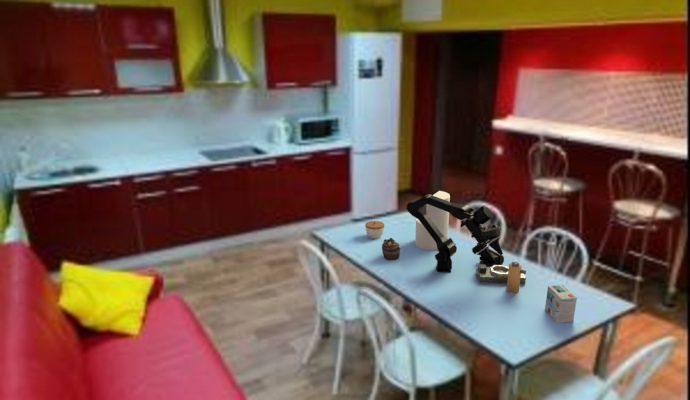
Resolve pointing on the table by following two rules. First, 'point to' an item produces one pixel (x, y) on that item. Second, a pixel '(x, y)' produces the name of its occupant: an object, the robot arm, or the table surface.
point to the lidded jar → (374, 229)
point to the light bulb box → (560, 303)
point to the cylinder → (439, 220)
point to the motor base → (494, 278)
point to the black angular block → (497, 257)
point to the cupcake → (390, 249)
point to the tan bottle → (514, 277)
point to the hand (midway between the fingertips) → (498, 258)
